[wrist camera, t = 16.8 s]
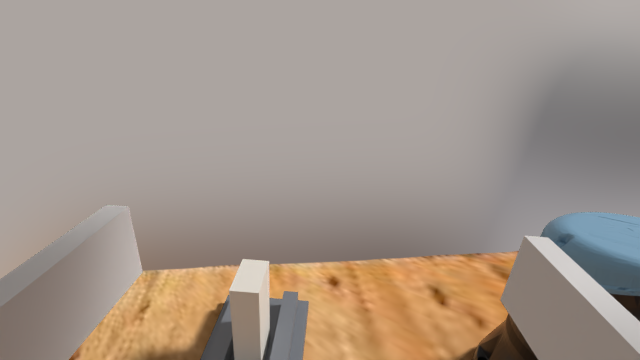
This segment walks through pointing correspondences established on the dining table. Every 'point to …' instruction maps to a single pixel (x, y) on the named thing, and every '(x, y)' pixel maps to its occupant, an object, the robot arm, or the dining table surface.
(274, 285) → the dining table surface
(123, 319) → the dining table surface
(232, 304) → the white rectangular block
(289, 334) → the rack
